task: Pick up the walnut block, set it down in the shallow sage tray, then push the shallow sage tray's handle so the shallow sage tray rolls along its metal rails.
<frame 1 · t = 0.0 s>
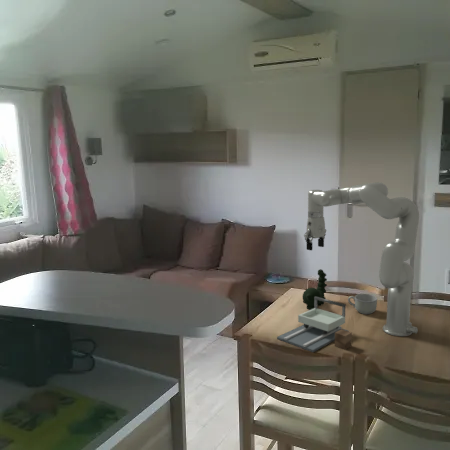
hand: (315, 248, 240), 31 cm above the table, tool pointing down, fingers open, 9 cm apart
teacup: (362, 312, 238), on the table
toy figurine: (315, 306, 247), on the table
track: (313, 335, 210), on the table
walnut block: (343, 346, 199), on the table
shallow sage tray: (321, 315, 212), point 8 cm above the table, slide at 0.0 cm
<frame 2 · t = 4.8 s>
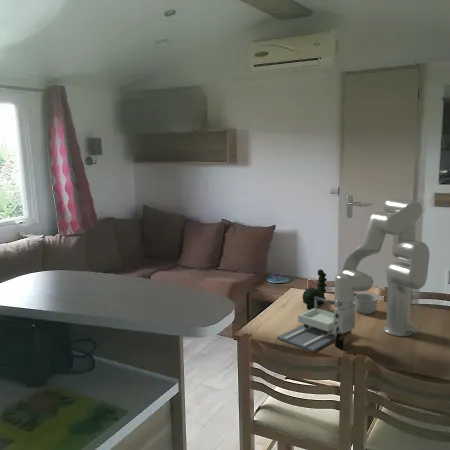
hand: (342, 344, 199), 0 cm above the table, tool pointing down, fingers closed on walnut block, 5 cm apart
walnut block: (342, 346, 199), on the table, touching gripper
everything else where it was.
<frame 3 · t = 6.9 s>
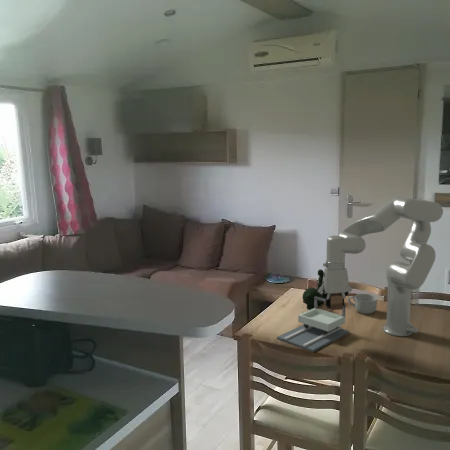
hand: (334, 306, 201), 15 cm above the table, tool pointing down, fingers closed on walnut block, 5 cm apart
walnut block: (334, 307, 202), point 15 cm above the table, touching gripper
everything else where it was.
when the fingers open (8 cm above the table, at t = 9.3 s): walnut block drops 1 cm, resting on shallow sage tray.
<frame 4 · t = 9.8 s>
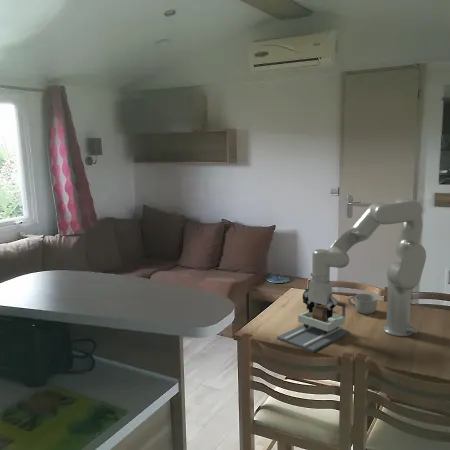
hand: (320, 314, 212), 8 cm above the table, tool pointing down, fingers open, 9 cm apart
walnut block: (320, 320, 212), point 6 cm above the table, touching shallow sage tray
shallow sage tray: (321, 315, 212), point 8 cm above the table, slide at 0.0 cm, touching walnut block
everything else where it was.
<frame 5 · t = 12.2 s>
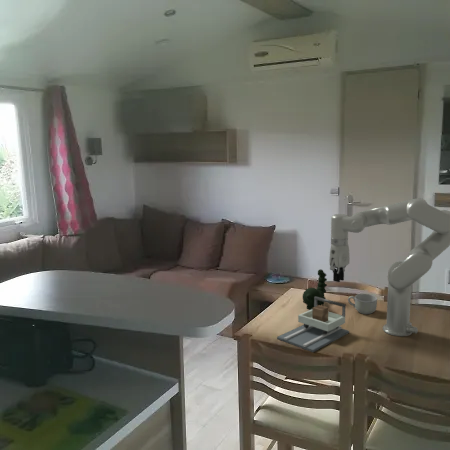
hand: (338, 280, 219), 21 cm above the table, tool pointing down, fingers closed
nothing on the table moved.
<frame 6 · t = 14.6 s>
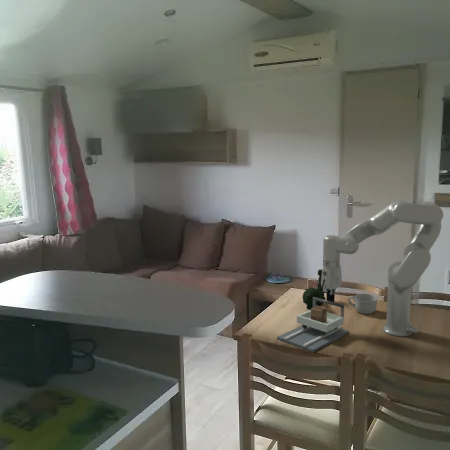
hand: (330, 302, 216), 12 cm above the table, tool pointing down, fingers closed
walnut block: (318, 321, 211), point 6 cm above the table, touching shallow sage tray
shallow sage tray: (320, 316, 212), point 8 cm above the table, slide at 1.2 cm, touching gripper, walnut block
everything else where it was.
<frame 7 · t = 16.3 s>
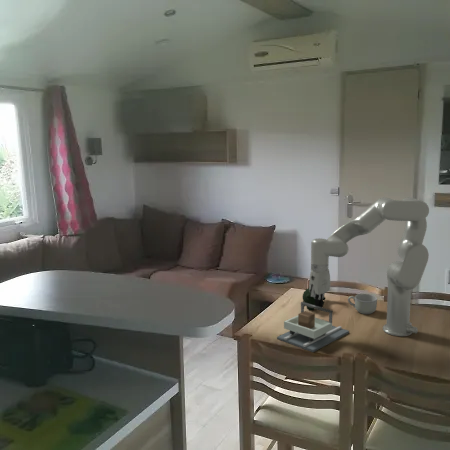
hand: (318, 307, 210), 12 cm above the table, tool pointing down, fingers closed
walnut block: (306, 327, 205), point 6 cm above the table, touching shallow sage tray
shallow sage tray: (308, 321, 206), point 8 cm above the table, slide at 10.2 cm, touching gripper, walnut block
everything else where it was.
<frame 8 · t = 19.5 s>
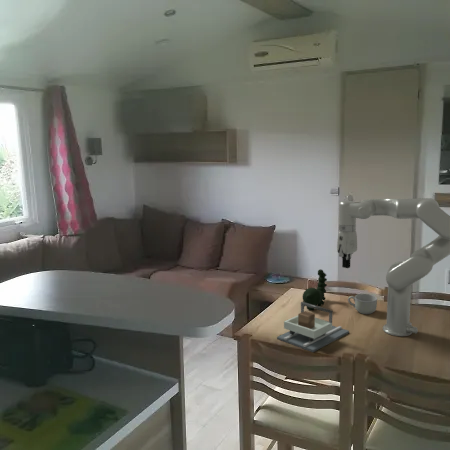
hand: (346, 267, 218), 27 cm above the table, tool pointing down, fingers closed
shallow sage tray: (308, 321, 206), point 8 cm above the table, slide at 10.2 cm, touching walnut block
everything else where it was.
at the end: shallow sage tray slide at 10.2 cm; walnut block touching shallow sage tray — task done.
